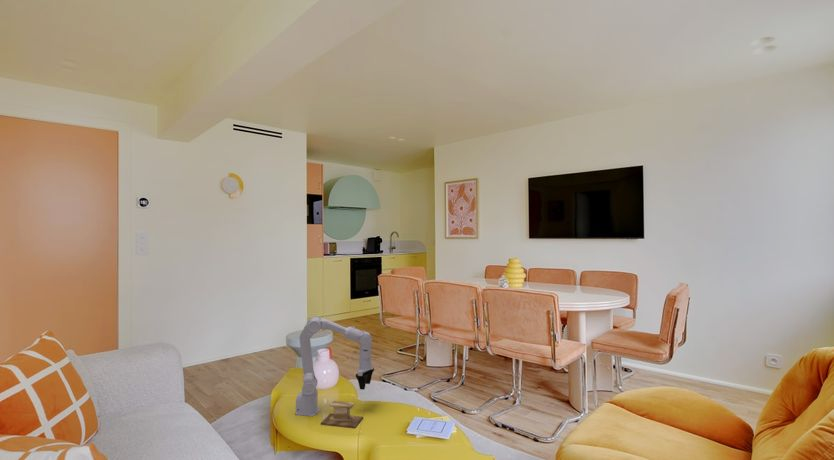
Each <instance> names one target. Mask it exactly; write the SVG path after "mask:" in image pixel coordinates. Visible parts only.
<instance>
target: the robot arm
mask: <svg viewBox="0 0 834 460" xmlns="http://www.w3.org/2000/svg"><path fill="white" fill-rule="evenodd" d="M320 330H321V331H322V332H323V331H326V330H330V331H332V332H336V333H339V334H342V335H343V336H344V338H345V339H347V340H350V341H352V342H356V343H359V353H358V354H359V359H358V360H359V367H358V371H357V373H356V374H355V378H356V380H357V382H358V383H357V384H358V386H359V390H363V391H364V390H365V389H366V385H371V380H372V376H373V374H374V371H375V367H374V366H373V363H372V343H373V340H372V339H373V338H372V335H371V334H370V333H369V332H368V331H367V330H366V331H365V330H363V329H362V330H360V329H357V328H356V326H354V325H352V326H348V327H345V326H342V325H341V324H339V323H336V322H333V320H329V319H327V318H324V317H319V316H318V315H317V316H312V317H310V319H309V320H307V322H306V323H305V325H304V327H303V329H302V330H301V332H300V334H299V336H298V337H299V338H298V339H299V345H300V346H299V347H300V355H301V363H302V374H303V376H302V377H303V378H302V380H303V381H302V382H303V383H302V387H301V391H300V392H298V393H297V395H296V398H295V413H294V415H298V416H306V417H314V416H316V415H317V414H318V413H319V412H320V411H321V408H320V407H318V400H319V399H318V398H319V395H318V389H317V386H318V379H317V377H316V375H315V370H314V362H313V353H312V346H311V338H312V337H313V336H314V335H315V334H317V333H319V332H320Z"/></svg>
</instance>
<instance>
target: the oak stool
mask: <svg viewBox="0 0 834 460" xmlns="http://www.w3.org/2000/svg"><path fill="white" fill-rule="evenodd" d="M354 406H355V403H354V402H348V401H347V402H346V401H337V400H333V401H331V403H329V407H331V408H333V413H332V414H333V415H332V416H331V417H330V421H340V422H349V423H351V422H352V421H353V420H354V417H353V416H354V415H351V409H352V408H353V407H354ZM350 415H351V416H350Z"/></svg>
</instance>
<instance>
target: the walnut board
mask: <svg viewBox="0 0 834 460" xmlns="http://www.w3.org/2000/svg"><path fill="white" fill-rule="evenodd" d="M333 414H334V413H329V414H328V415H327V416H326V417H325V418H324V419H323V420H322V421H321V422H320V425H321V426H329V427H340V428H346V429H347V428H350V429H356V428H357V427H358V426H359V424H361V422H362V420H364V416H362V415H361V416H360V415H351V414H350V416H353V417H354V420H353V421H352V422H351V423H349V422H340V421H330V417H331V416H332V415H333Z"/></svg>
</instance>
